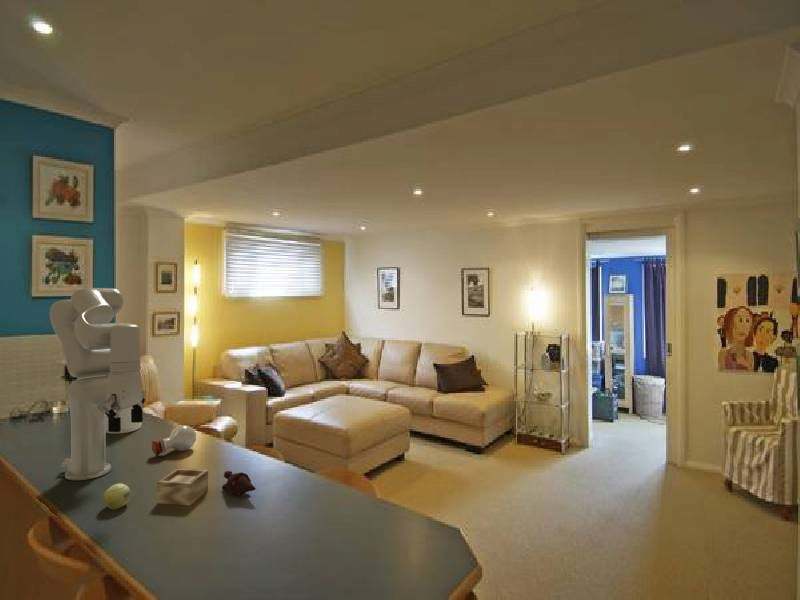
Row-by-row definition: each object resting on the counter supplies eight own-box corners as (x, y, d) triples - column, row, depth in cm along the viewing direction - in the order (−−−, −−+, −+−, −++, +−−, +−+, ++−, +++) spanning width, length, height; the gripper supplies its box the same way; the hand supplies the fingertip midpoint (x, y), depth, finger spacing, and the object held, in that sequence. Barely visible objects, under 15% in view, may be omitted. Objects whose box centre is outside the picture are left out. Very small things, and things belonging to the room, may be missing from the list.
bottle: (128, 434, 191) (129, 367, 190) (96, 433, 191) (96, 367, 191) (147, 424, 205) (148, 362, 204) (117, 424, 205) (117, 361, 205)
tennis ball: (122, 487, 126) (132, 477, 133) (96, 492, 125) (107, 481, 132) (126, 509, 127) (136, 498, 133) (100, 515, 126) (111, 503, 132)
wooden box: (157, 503, 131) (157, 481, 131) (177, 488, 141) (177, 468, 141) (190, 505, 131) (190, 483, 130) (208, 490, 141) (208, 470, 140)
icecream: (267, 475, 137) (236, 467, 145) (246, 476, 131) (215, 469, 140) (263, 500, 135) (232, 491, 144) (242, 502, 129) (211, 493, 138)
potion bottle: (198, 450, 178) (159, 466, 166) (186, 432, 182) (147, 446, 170) (204, 434, 174) (164, 450, 162) (191, 416, 178) (151, 430, 166)
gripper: (132, 363, 141) (133, 419, 141) (90, 372, 123) (91, 435, 123) (155, 363, 140) (156, 419, 140) (117, 372, 123) (118, 435, 123)
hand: (126, 426), depth 132 cm, fingers open, 9 cm apart
